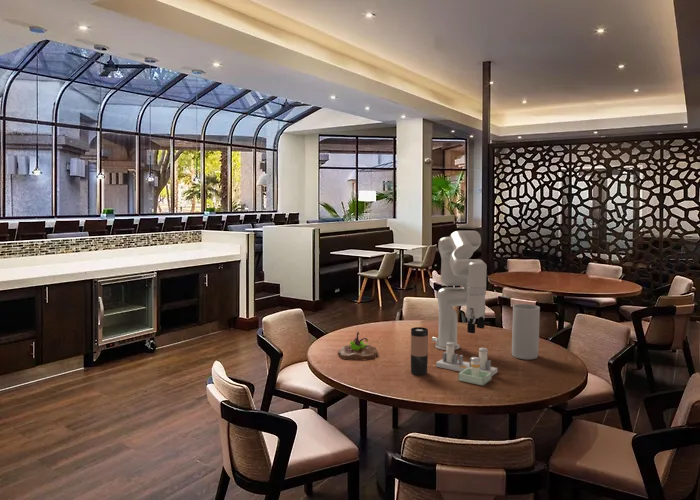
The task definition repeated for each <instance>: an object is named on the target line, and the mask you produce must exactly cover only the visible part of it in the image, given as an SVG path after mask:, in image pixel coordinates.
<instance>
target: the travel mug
mask: <svg viewBox="0 0 700 500" xmlns="http://www.w3.org/2000/svg"><path fill="white" fill-rule="evenodd" d="M428 360H429V330H428V328H426V327H422V326H421V327H420V326H419V327H418V326H417V327H412V328H410V373H411V374H412V375H413V374H414V376H426V375H427V374H428Z"/></svg>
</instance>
